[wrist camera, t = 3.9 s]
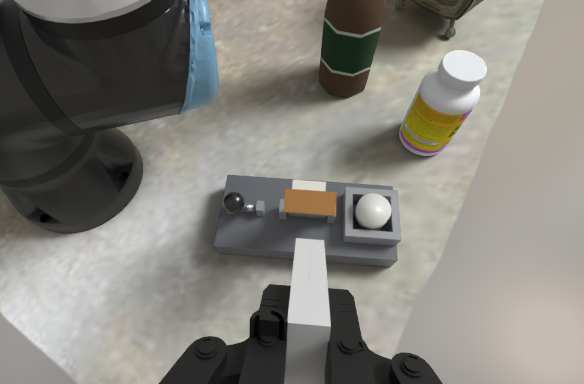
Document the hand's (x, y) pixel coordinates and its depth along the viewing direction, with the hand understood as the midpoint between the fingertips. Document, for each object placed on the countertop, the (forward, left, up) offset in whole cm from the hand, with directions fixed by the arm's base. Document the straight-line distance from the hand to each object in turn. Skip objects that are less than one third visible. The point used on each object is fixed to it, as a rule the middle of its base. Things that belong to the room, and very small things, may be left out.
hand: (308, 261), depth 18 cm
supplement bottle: (+27, +9, -20) cm, 35 cm away
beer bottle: (+25, +24, -20) cm, 40 cm away
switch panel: (+6, +8, -20) cm, 22 cm away
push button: (+12, +3, -16) cm, 20 cm away
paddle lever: (+6, +8, -16) cm, 19 cm away
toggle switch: (+1, +12, -16) cm, 20 cm away
